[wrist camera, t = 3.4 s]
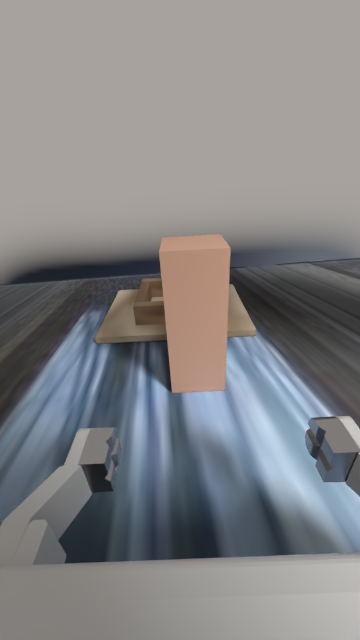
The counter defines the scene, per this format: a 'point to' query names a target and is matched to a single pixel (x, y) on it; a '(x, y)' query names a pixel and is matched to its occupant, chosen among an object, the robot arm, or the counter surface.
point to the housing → (158, 315)
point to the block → (196, 310)
